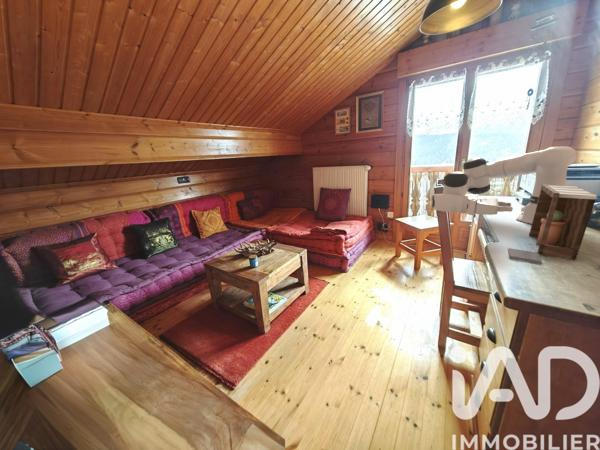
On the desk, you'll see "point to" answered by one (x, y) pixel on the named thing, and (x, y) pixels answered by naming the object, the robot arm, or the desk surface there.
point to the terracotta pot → (552, 229)
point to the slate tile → (524, 255)
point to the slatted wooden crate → (575, 212)
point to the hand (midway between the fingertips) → (511, 207)
